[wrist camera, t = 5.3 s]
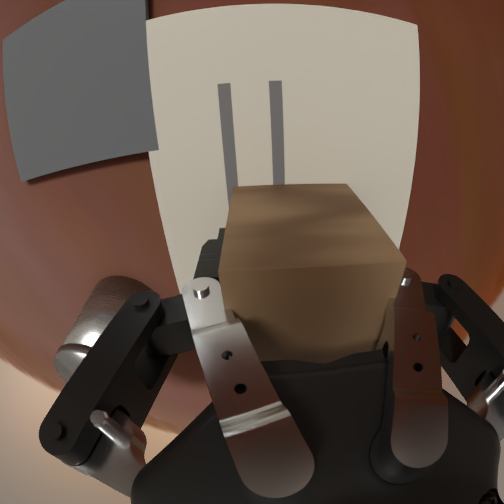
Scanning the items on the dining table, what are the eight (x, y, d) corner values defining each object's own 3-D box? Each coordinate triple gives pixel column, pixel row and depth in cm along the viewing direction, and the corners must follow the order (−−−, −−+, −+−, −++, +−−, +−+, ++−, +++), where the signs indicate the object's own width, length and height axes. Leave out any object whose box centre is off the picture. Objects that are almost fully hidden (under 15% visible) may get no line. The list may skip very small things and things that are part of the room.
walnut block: (346, 183, 12) (406, 261, 7) (336, 273, 15) (368, 367, 10) (233, 186, 12) (218, 271, 7) (241, 278, 15) (237, 378, 10)
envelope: (412, 26, 8) (417, 25, 7) (376, 314, 17) (378, 319, 17) (138, 25, 8) (134, 23, 8) (192, 325, 17) (190, 330, 17)
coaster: (148, -30, 6) (145, -32, 6) (161, 147, 11) (158, 150, 11) (7, 39, 7) (3, 39, 6) (25, 179, 12) (21, 182, 11)
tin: (155, 273, 15) (121, 360, 10) (177, 336, 18) (160, 414, 13) (80, 274, 15) (36, 346, 10) (110, 332, 18) (83, 400, 13)
